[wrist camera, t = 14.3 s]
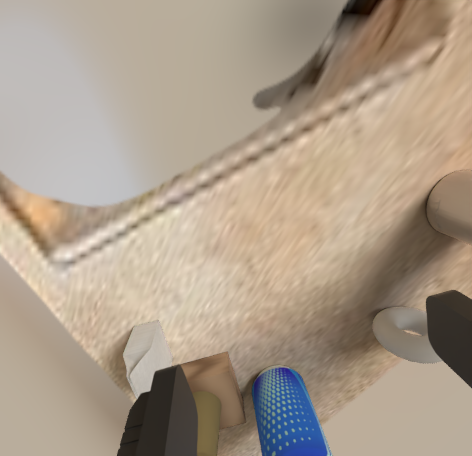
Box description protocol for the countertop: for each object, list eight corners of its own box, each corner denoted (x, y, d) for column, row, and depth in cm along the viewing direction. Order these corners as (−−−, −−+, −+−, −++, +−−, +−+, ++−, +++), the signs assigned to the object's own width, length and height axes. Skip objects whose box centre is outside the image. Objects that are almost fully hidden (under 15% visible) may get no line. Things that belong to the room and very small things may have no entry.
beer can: (261, 409, 49) (285, 531, 34) (242, 373, 47) (259, 487, 32) (308, 390, 49) (353, 505, 34) (291, 353, 46) (332, 458, 31)
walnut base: (227, 351, 45) (229, 371, 41) (242, 399, 48) (245, 422, 45) (164, 368, 45) (160, 390, 41) (183, 416, 48) (181, 440, 44)
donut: (358, 325, 46) (398, 374, 37) (360, 306, 45) (400, 351, 36) (419, 318, 47) (473, 364, 37) (422, 299, 46) (478, 341, 36)
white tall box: (158, 319, 43) (144, 372, 33) (173, 356, 45) (163, 415, 35) (134, 326, 43) (112, 380, 33) (149, 362, 45) (133, 423, 35)
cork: (216, 425, 44) (219, 514, 34) (176, 421, 43) (166, 512, 33) (225, 393, 43) (231, 477, 32) (184, 388, 42) (176, 473, 31)
